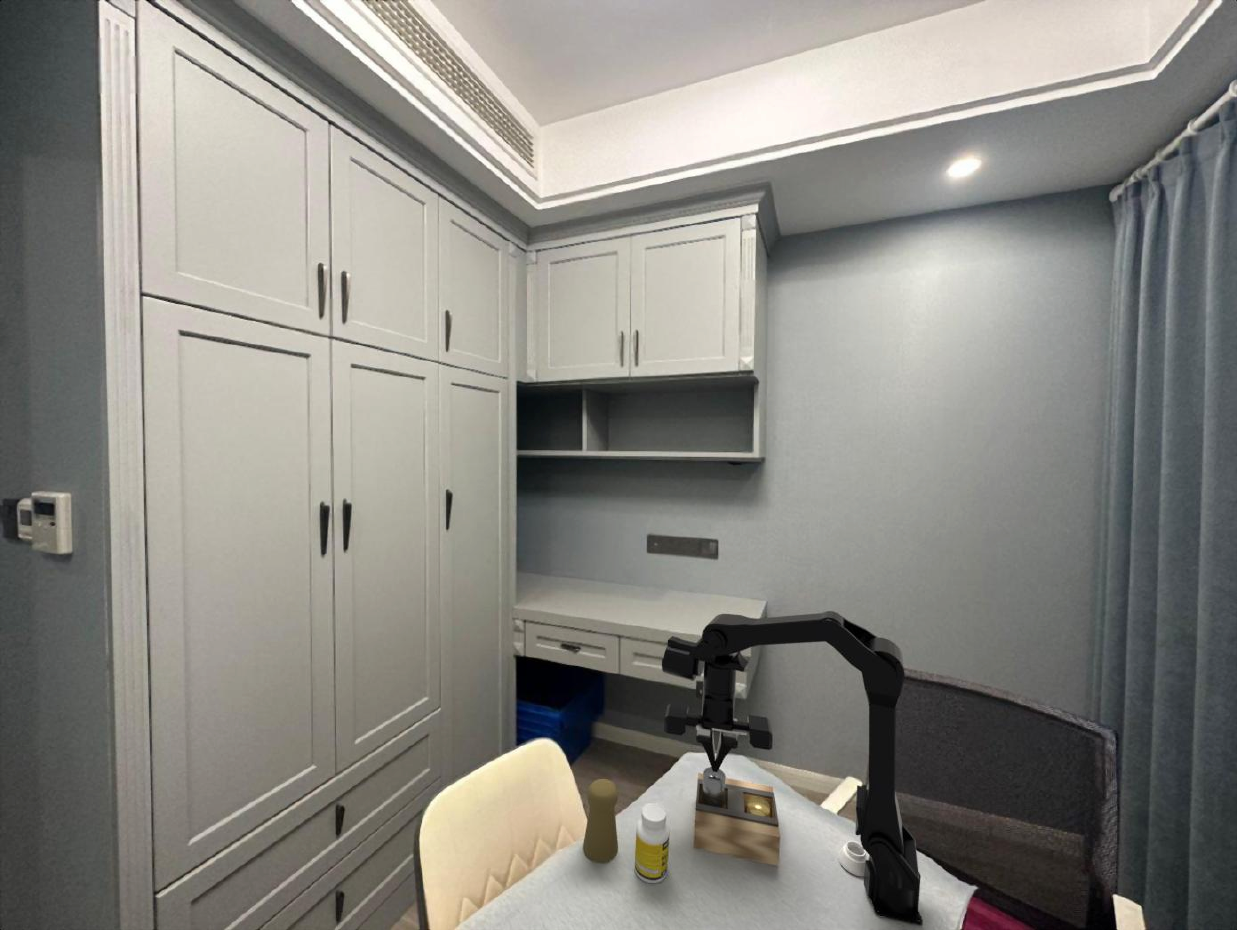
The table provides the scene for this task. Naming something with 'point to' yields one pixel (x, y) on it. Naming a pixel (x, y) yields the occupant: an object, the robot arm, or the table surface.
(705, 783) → the steel plunger
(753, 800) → the brass plunger
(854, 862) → the white jar
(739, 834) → the socket board
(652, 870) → the supplement bottle
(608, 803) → the olive brown pepper mill
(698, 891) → the table surface
